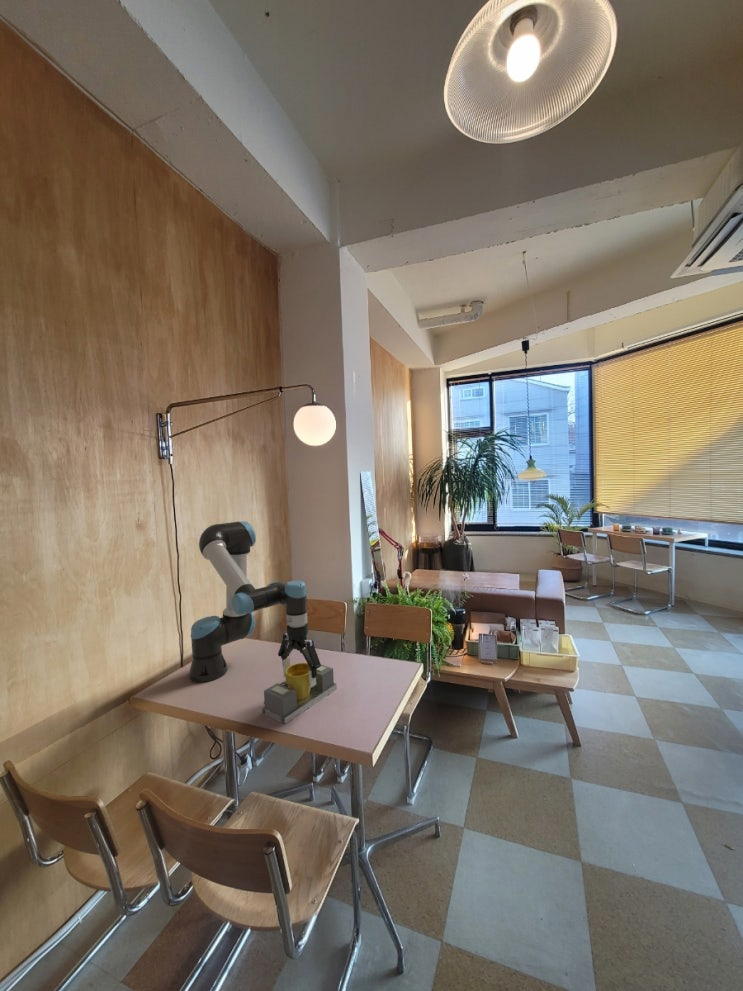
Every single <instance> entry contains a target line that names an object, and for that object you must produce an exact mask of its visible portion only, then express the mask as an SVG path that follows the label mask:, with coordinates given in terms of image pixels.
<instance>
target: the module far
mask: <svg viewBox="0 0 743 991" xmlns="http://www.w3.org/2000/svg"><path fill="white" fill-rule="evenodd" d="M312 666H313V664H312ZM334 678H335V677H334V668H333V667H329V666H327V665H323V664H321V667H319V668H317V677H316V685H315V686H313V687H314V688H317V689H320V690H325V689H326V688H328V687H329V686H331V685H332V684H334V683H335V680H334Z"/></svg>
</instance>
